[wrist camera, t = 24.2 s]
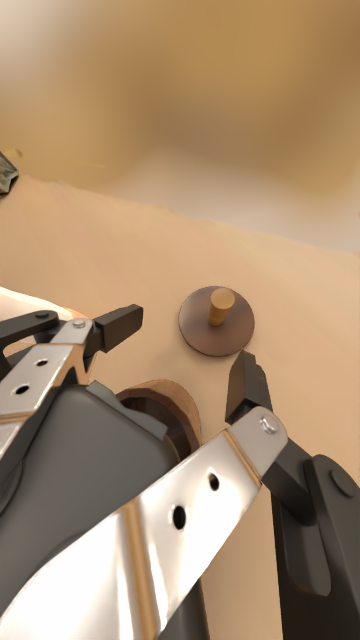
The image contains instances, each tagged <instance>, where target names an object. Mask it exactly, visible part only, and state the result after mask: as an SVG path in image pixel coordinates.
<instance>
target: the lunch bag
mask: <svg viewBox="0 0 360 640" xmlns="http://www.w3.org/2000/svg"><path fill="white" fill-rule="evenodd" d="M18 174H19V171H18V169H17V168H16V167H15V166H14V165H13V164H12V163H11V162H10V161H9V160H8V159H7V158H6V157H5V156H4V155H3V154H2V153H1V152H0V193H7V192H8V191H9V185H10V182H11V179H12V178H14V177H15V176H17V175H18Z"/></svg>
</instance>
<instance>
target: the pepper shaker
mask: <svg viewBox="0 0 360 640" xmlns="http://www.w3.org/2000/svg"><path fill="white" fill-rule="evenodd" d="M40 310H52V311H56V312H57V313H58V316H59V319H61V320H65V321H69V320H71V319H75V318H87V317H86V316H85V315H83V314H80V313H78V312H76V311H74V310H71V309H68V308H61V307H59V306H57V305H55V304H52V303H50V302H48V301H45V300H42V299H38V298H35V297H31V296H28V295H24V294H20V293H17V292H13V291H10V290H8V289H5V288H3V287H0V321H3V320H7V319H10V318H14V317H17V316H21V315H24V314H28V313H31V312H35V311H40ZM19 342H25V343H34V344H36V341H35V339H34V337H33V335H32V336H29V337H27V338H24V339H22V340H19Z"/></svg>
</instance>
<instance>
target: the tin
mask: <svg viewBox="0 0 360 640" xmlns="http://www.w3.org/2000/svg"><path fill="white" fill-rule="evenodd" d="M115 396H116V397H117V398H118V400H119V401H120V402H121V404H122V405H123V406H124V407H125V408H128V409H132V410H135V411H139V412H142V413H146V414H149V415H150V416H152V417H154V418H155V419H157V420H158V421H160V422H161V423H163V424H164V425H166V426H168V427H169V428H168V430H167V433H166V435H167V436H168V437H169V438H170V440H171V441H172V443H173V445H174V446H175V448H176V450H177V453H178V455H179V458H180V461H181V462H182V461H183V460H185V459H186V458H187V457H189V456H190V455H191V454H193V453H194V452H195V451H196V450H198V449H199V448H200V447H201V431H200V420H199V413H198V410H197V408H196V405H195V403H194V401H193V399H192V397H191V396H190V395H189V393H188V392H187V391H186V390H185V389H184V388H183V387H181V386H180V385H178V384H177V383H174V382H172V381H169V380H152V381H149V382H146V383H143V384H140V385H137V386H134V387H131V388H128V389H125V390H123V391H122V392H120V393H118V394H116V395H115Z"/></svg>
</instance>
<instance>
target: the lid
mask: <svg viewBox="0 0 360 640" xmlns="http://www.w3.org/2000/svg"><path fill="white" fill-rule="evenodd" d="M179 326H180V330H181V332H182V335H183V337H184V338H185V340H186V341H187V342H188V343H189V344H190V345H191V346H192V347H193V348H194V349H196V350H197V351H199V352H201V353H204V354H207V355H211V356H225V355H229V354H232V353H234V352H237V351H238V350H240V349H241V348H242V347H244V346H245V345H246V344H247V342H248V341H249V339H250V338H251V336H252V333H253V330H254V315H253V312H252V309H251V307H250V305H249V304H248V302H247V301H246V300H245V299H244V298H243V297H242V296H241V295H240V294H238V293H237V292H235V291H233V290H231V289H228V288H225V287H219V286H211V287H205V288H202V289H199V290H197V291H196V292H194V293H192V294H191V295H190V296H189V297H188V298H187V299H186V300H185V302H184V303H183V305H182V307H181V310H180V313H179Z"/></svg>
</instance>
